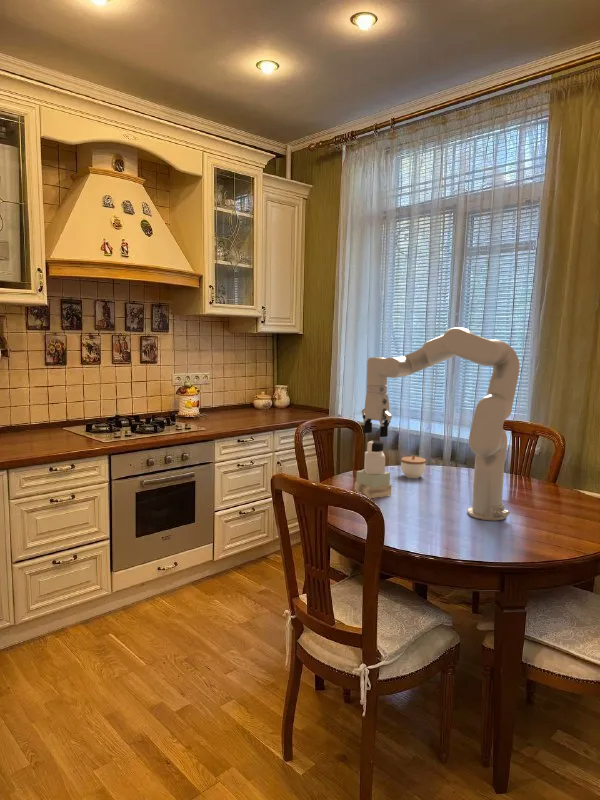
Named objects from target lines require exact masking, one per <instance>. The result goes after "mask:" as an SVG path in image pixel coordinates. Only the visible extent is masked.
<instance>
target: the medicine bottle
mask: <svg viewBox="0 0 600 800" xmlns="http://www.w3.org/2000/svg"><path fill="white" fill-rule="evenodd" d="M366 446H367V447H366V451H364V462H363V463H364V464H363V465H364V467H363V468H364V469H363V470H365V472H366V474H380V475H384V474H385V472H386V456H385V453H384V443H383V442H382V441H381V440H370V441H367V445H366Z"/></svg>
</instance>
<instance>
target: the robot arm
mask: <svg viewBox="0 0 600 800" xmlns="http://www.w3.org/2000/svg"><path fill="white" fill-rule="evenodd" d="M454 357H459V358H462V359H465V360H467V361H469V362H473V363H475V364H477V365H480V366H485V367H491V366H492V372H491V373H492V374H491V376H490V379H489V385H488V388H487V393H486V396H484V397H482V398H481V399H480V400H479V401H478V403H477V405H476V407H475V409H474V414H473V415H474V416H473V418H472V423H471V428H470V433H469V437H468V438H469V439H468V441H469V443H468V444H469V447H470V449H471V451H472V452H473V453H474V454H475V459H474V460H475V461H474V468H473V469H474V472H473V492H472V506H470V507H469V508H467V511H466V512H467V514H468V515H469V516H470V517H472V518H475V519H478V520H483V521H493V522H494V521H502V520H503V521H504V519H507V518H508V516H509V515H510V512H511V511H510V510H507V509H505V504H503V491H504V474H505V465H506V464H505V462H506V461H505V460H506V456H507V455H506V453H507V447H508V435H507V433H506V430H505V429H504V428H503V427H504V423H505V420H507V419H508V418H509V417H510V415H511V414H512V410H513V404H514V400H515V395H516V391H517V385H518V381H519V374H520V359H519V356H518V355H517V352H516V351H515V350H514V349H513V347H511V346H510V345H509V344H508V343H506V342H505V341H502V340H499V339H489V338H485V337H482V336H481V335H476V334H475V333H473V332H472V331H471V330H469V328H465V327H452V328H448V330H446V331H445V332H444V333H443V334H442V335H440V336H437V337H434V338H432V339H431V340H428V341H426V342H425V343H423V344H422V346H421V347H420V348H418V349H417V350H415V351H413V352H410V353H408V354H405V355H403V356H394V357H380V356H371V357H369V358H368V359H367V361H366V362H367V363H366V364H367V365H366V393H365V394H366V395H365V399H364V401H365V402H364V408H363V409H362V410H361V414H362V419H363V423H364V429H363V430H364V434H370V433H372V432H373V422H372V421H378V423H379V424H380V426H379V437H380V438H387V437H388V433H389V431H388V430H389V429H388V427H389V426H390V423H391V421H392V418H393V416H392V414H391V413H390V401H389V396H388V393H387V391H388V390H387V389H388V378H391V379H396V378H402V377H404V378H405V377H407V376H410V375H413V374H415V373H417V372H418V373H419V372H420V371H423V370H424V369H427V368H430V367H433V366H435V365H437V364H439V363H441V362H445V361H447V360H449V359H452V358H454Z"/></svg>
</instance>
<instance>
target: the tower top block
mask: <svg viewBox="0 0 600 800" xmlns="http://www.w3.org/2000/svg"><path fill="white" fill-rule="evenodd" d="M390 475H391V472H388V471H385V474H384V475H380V474H366V472H365V469H362V470H357V471H356V480H355V482H356V483H359V484H362V485H365V486H368V487H371V488H375V487H380V486H385V485H389V484H390V485H391V482H390V481H391V476H390Z"/></svg>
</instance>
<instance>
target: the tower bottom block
mask: <svg viewBox="0 0 600 800" xmlns="http://www.w3.org/2000/svg"><path fill="white" fill-rule="evenodd" d="M354 490H356V491H355V492H357V493H359V492H361V493H360V494H362V495H365V496H367V497H368V498H367V499H369V498H370V499H369V500H372V499H371V498H374V499H376V498H375V497H380V498H382V497H381V496H386V497H389V496H388V495H391V496H392V485H391V483H390V484H389V485H385V486H380V487H375V488H371V487H368V486H365V485H362V484H359V483H356V481H355V482H354ZM355 492H354V493H355ZM357 493H356V494H357ZM360 494H359V495H360ZM362 495H361V496H362Z"/></svg>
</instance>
